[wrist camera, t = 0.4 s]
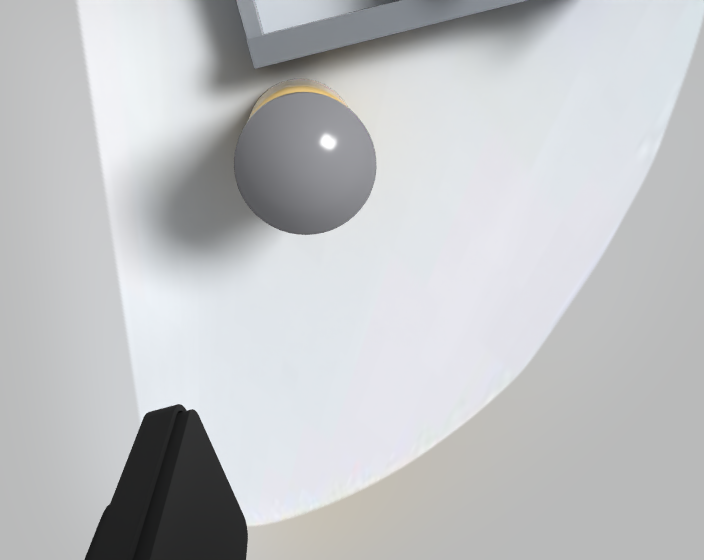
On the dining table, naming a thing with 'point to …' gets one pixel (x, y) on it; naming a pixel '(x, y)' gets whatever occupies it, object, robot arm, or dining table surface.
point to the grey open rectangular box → (350, 26)
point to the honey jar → (304, 159)
